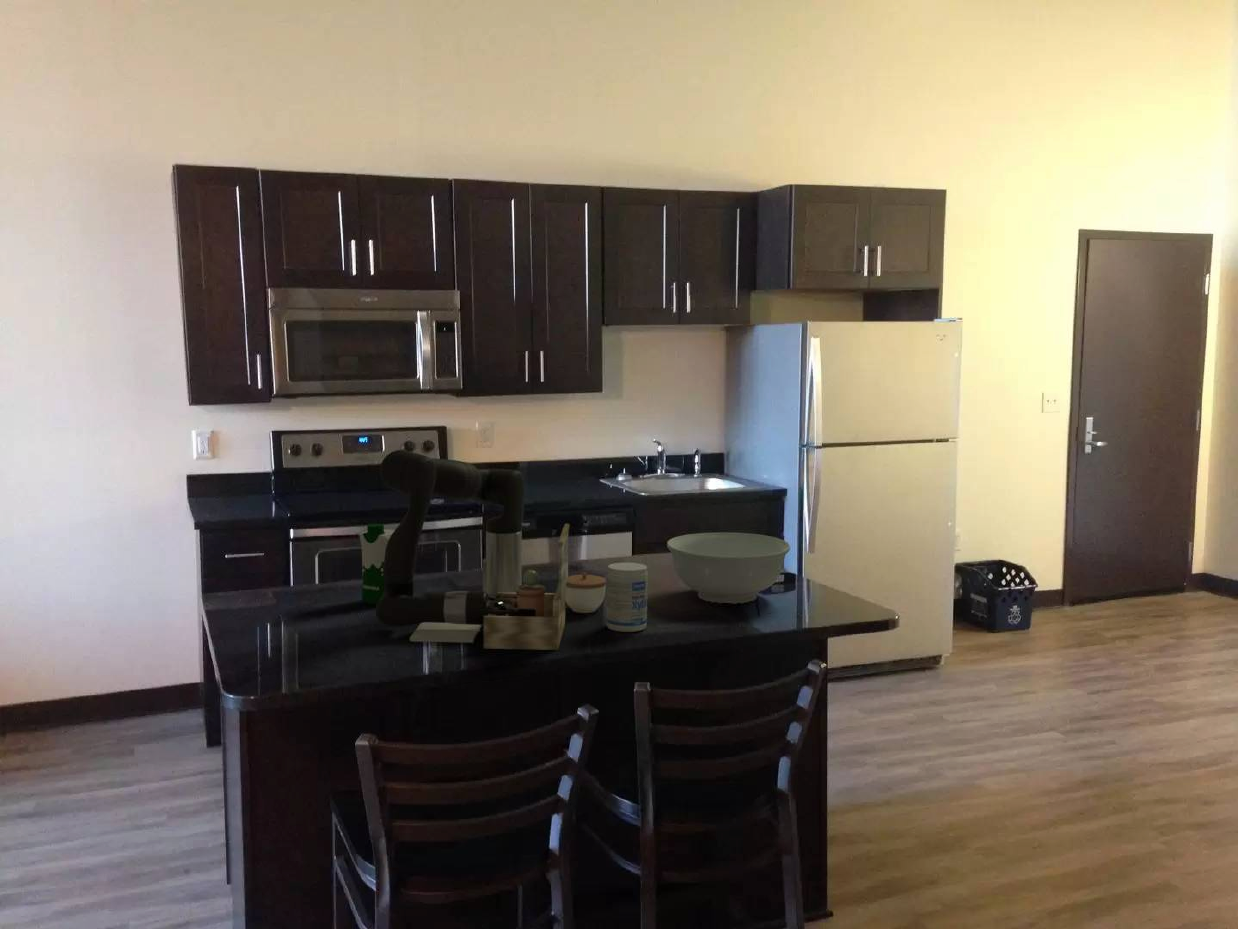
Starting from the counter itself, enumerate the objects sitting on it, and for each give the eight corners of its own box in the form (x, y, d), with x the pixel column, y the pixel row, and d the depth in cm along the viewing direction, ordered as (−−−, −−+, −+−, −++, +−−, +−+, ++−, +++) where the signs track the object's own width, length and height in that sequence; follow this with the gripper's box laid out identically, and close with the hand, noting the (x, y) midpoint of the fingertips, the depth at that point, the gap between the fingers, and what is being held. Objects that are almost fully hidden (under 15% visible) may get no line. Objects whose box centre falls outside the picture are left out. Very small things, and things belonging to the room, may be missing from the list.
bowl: (647, 604, 270) (648, 548, 268) (687, 578, 300) (689, 527, 298) (771, 619, 258) (773, 560, 256) (800, 590, 288) (802, 537, 286)
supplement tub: (640, 635, 242) (641, 572, 241) (600, 631, 245) (601, 568, 243) (651, 624, 252) (652, 563, 250) (613, 620, 254) (614, 560, 253)
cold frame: (483, 648, 230) (483, 540, 227) (497, 620, 252) (497, 522, 250) (561, 650, 230) (562, 542, 227) (568, 622, 252) (569, 523, 249)
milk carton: (356, 603, 267) (355, 525, 264) (378, 595, 275) (378, 519, 273) (384, 607, 263) (383, 528, 261) (406, 599, 271) (406, 522, 269)
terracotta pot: (509, 635, 240) (510, 571, 238) (526, 629, 246) (527, 565, 244) (533, 640, 237) (534, 574, 235) (550, 633, 242) (551, 569, 241)
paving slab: (409, 641, 235) (409, 637, 235) (422, 624, 249) (422, 620, 248) (472, 642, 234) (472, 639, 234) (482, 625, 248) (482, 622, 248)
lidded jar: (600, 616, 258) (600, 579, 256) (557, 613, 260) (558, 576, 259) (609, 606, 268) (610, 569, 267) (568, 603, 270) (568, 567, 269)
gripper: (460, 599, 233) (534, 600, 233) (471, 584, 247) (540, 585, 247) (461, 632, 234) (534, 634, 234) (471, 615, 248) (540, 617, 248)
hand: (537, 609), depth 240 cm, fingers open, 8 cm apart
